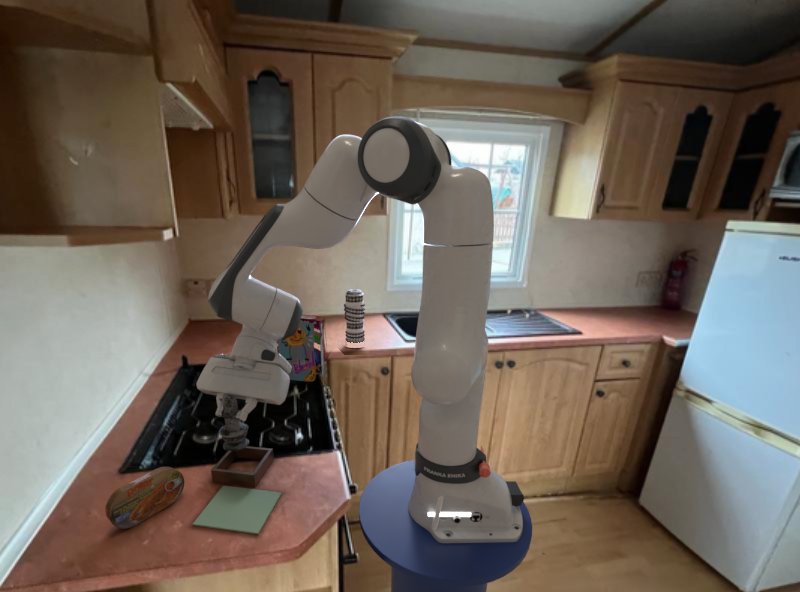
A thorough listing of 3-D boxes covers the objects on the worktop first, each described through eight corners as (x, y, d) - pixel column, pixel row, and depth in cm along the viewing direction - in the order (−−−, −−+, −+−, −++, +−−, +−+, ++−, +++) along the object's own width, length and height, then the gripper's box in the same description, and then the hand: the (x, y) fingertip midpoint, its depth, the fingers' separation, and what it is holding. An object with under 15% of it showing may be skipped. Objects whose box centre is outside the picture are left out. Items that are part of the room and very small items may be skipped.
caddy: (274, 459, 103) (272, 448, 101) (255, 486, 93) (254, 475, 92) (234, 455, 104) (233, 444, 103) (212, 481, 95) (210, 470, 94)
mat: (281, 493, 91) (281, 492, 90) (258, 534, 79) (258, 533, 79) (223, 486, 93) (223, 485, 93) (192, 525, 82) (192, 523, 82)
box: (258, 380, 148) (251, 315, 139) (267, 374, 153) (260, 310, 145) (322, 389, 141) (318, 320, 132) (329, 381, 146) (326, 315, 138)
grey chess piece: (252, 436, 90) (246, 386, 86) (247, 451, 84) (239, 398, 80) (225, 437, 89) (217, 387, 85) (218, 452, 84) (209, 400, 80)
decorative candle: (358, 341, 189) (357, 287, 180) (369, 346, 182) (369, 290, 173) (341, 345, 184) (339, 289, 175) (352, 350, 177) (350, 293, 168)
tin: (115, 537, 79) (105, 502, 76) (108, 530, 81) (98, 495, 78) (188, 495, 90) (181, 463, 87) (180, 489, 92) (174, 457, 89)
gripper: (204, 346, 90) (179, 406, 84) (287, 355, 84) (266, 421, 78) (220, 358, 95) (197, 415, 90) (298, 367, 89) (280, 429, 84)
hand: (230, 418), depth 84 cm, fingers closed on grey chess piece, 3 cm apart
